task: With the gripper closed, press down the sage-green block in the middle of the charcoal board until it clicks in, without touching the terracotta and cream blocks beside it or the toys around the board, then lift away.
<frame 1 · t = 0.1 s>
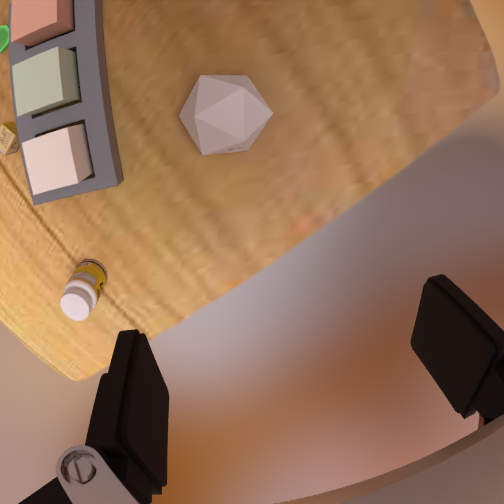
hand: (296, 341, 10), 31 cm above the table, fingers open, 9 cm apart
green block: (46, 82, 26), point 5 cm above the table, slide at 0.0 cm
game piece: (2, 40, 25), on the table
supplement bottle: (92, 272, 42), on the table
cream block: (58, 157, 30), point 5 cm above the table, slide at 0.0 cm
alphabet block: (15, 136, 31), on the table
terracotta block: (42, 13, 22), point 5 cm above the table, slide at 0.0 cm
board: (62, 83, 30), on the table
die: (222, 112, 35), on the table
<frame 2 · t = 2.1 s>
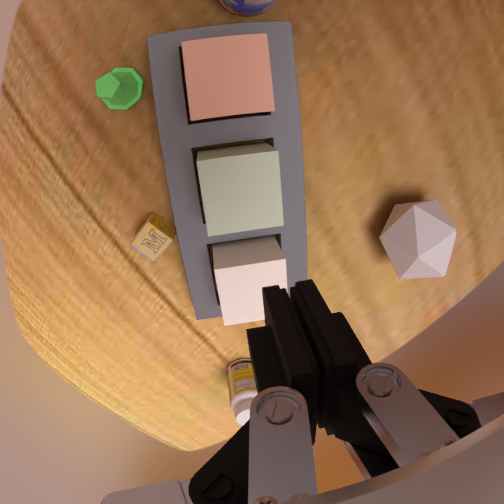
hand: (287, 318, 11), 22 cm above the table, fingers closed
green block: (238, 186, 26), point 5 cm above the table, slide at 0.0 cm
game piece: (123, 88, 25), on the table
supplement bottle: (243, 368, 42), on the table
cream block: (249, 279, 30), point 5 cm above the table, slide at 0.0 cm
alphabet block: (155, 230, 32), on the table
terracotta block: (226, 77, 22), point 5 cm above the table, slide at 0.0 cm
board: (234, 174, 30), on the table
die: (401, 224, 36), on the table
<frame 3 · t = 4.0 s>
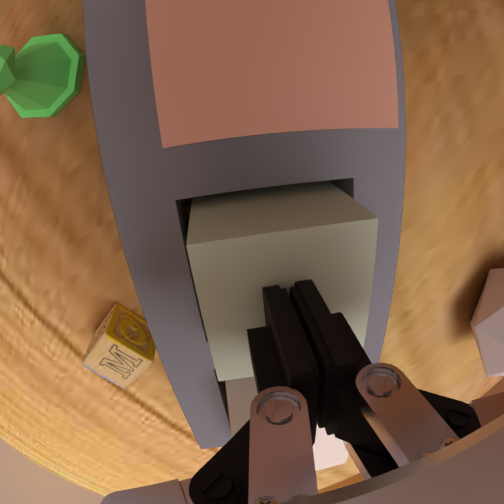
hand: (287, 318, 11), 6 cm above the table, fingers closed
green block: (277, 274, 13), point 4 cm above the table, slide at 1.1 cm, touching gripper
game piece: (48, 76, 11), on the table
cream block: (288, 418, 16), point 5 cm above the table, slide at 0.0 cm
alphabet block: (125, 327, 18), on the table
terracotta block: (261, 32, 8), point 5 cm above the table, slide at 0.0 cm
board: (262, 238, 16), on the table
die: (489, 293, 22), on the table
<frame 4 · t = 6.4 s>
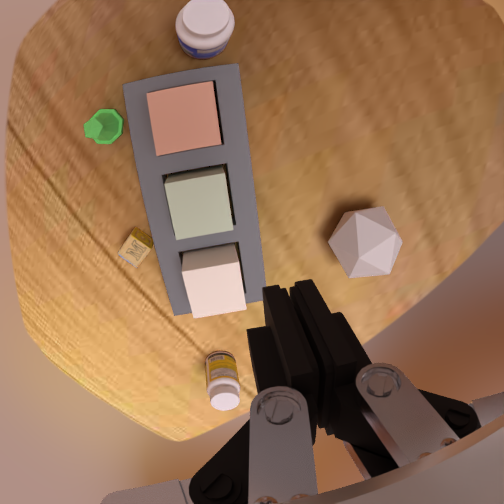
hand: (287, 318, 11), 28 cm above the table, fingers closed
green block: (199, 200, 34), point 3 cm above the table, slide at 1.4 cm
game piece: (107, 126, 32), on the table
supplement bottle: (220, 360, 48), on the table
cream block: (214, 280, 37), point 5 cm above the table, slide at 0.0 cm
alphabet block: (138, 241, 38), on the table
terracotta block: (185, 117, 29), point 5 cm above the table, slide at 0.0 cm
board: (199, 193, 37), on the table
pill bottle: (204, 39, 30), on the table
die: (352, 229, 42), on the table
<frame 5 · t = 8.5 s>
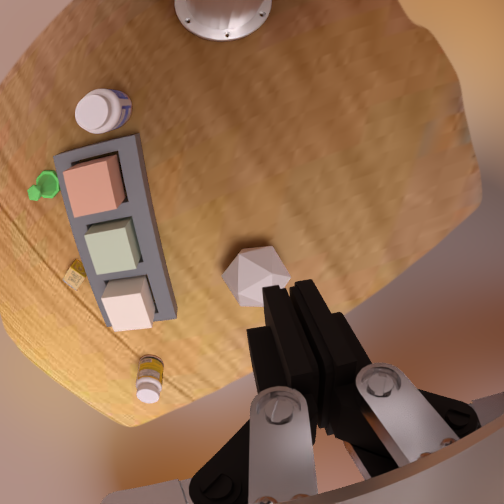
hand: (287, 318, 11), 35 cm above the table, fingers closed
green block: (114, 244, 42), point 3 cm above the table, slide at 1.4 cm
game piece: (50, 183, 40), on the table
supplement bottle: (151, 362, 57), on the table
cream block: (129, 303, 45), point 5 cm above the table, slide at 0.0 cm
alphabet block: (79, 269, 47), on the table
terracotta block: (95, 184, 37), point 5 cm above the table, slide at 0.0 cm
board: (119, 235, 45), on the table
pill bottle: (114, 109, 37), on the table
die: (252, 263, 50), on the table
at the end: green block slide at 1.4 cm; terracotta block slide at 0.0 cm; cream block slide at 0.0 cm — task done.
